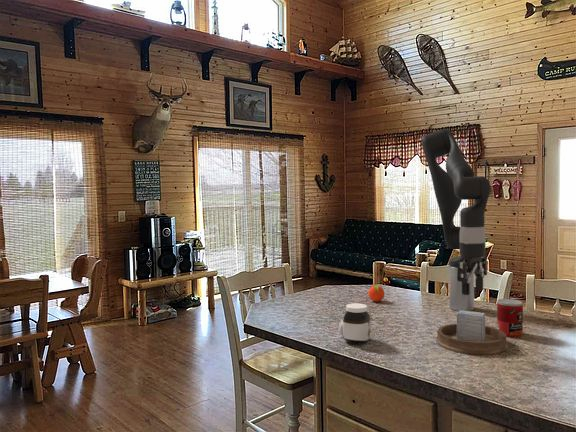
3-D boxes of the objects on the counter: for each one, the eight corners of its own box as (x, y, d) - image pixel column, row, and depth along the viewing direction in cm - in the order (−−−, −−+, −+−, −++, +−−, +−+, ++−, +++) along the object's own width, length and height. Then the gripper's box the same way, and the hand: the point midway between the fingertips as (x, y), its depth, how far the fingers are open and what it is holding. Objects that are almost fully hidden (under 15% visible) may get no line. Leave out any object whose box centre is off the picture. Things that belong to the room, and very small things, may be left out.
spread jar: (362, 347, 150) (361, 310, 149) (329, 341, 156) (329, 306, 155) (376, 336, 160) (375, 302, 159) (345, 332, 166) (344, 299, 165)
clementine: (386, 303, 204) (386, 287, 204) (370, 304, 204) (370, 287, 204) (383, 299, 212) (382, 283, 212) (367, 299, 212) (367, 283, 212)
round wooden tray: (458, 329, 166) (457, 319, 166) (519, 343, 150) (519, 332, 150) (423, 343, 152) (423, 332, 152) (487, 360, 136) (487, 348, 136)
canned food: (512, 339, 155) (512, 305, 154) (491, 332, 162) (491, 300, 161) (528, 335, 158) (528, 302, 157) (507, 329, 165) (507, 297, 164)
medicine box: (485, 339, 151) (485, 312, 151) (482, 343, 147) (482, 316, 147) (459, 336, 155) (459, 309, 155) (456, 340, 152) (456, 313, 151)
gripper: (472, 237, 156) (472, 286, 158) (449, 242, 147) (449, 294, 148) (494, 239, 151) (495, 290, 152) (472, 244, 141) (472, 298, 143)
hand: (472, 292), depth 150 cm, fingers open, 8 cm apart
